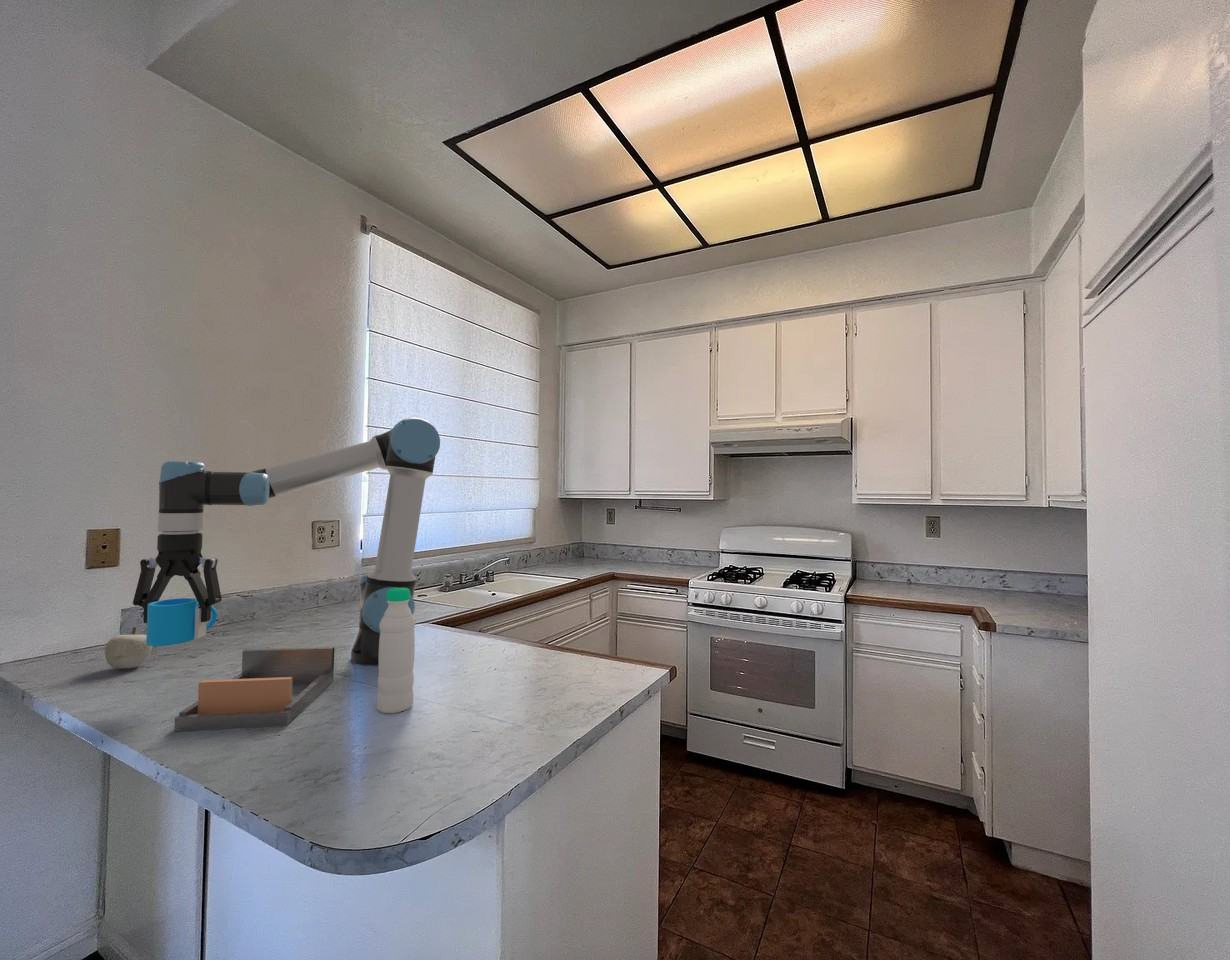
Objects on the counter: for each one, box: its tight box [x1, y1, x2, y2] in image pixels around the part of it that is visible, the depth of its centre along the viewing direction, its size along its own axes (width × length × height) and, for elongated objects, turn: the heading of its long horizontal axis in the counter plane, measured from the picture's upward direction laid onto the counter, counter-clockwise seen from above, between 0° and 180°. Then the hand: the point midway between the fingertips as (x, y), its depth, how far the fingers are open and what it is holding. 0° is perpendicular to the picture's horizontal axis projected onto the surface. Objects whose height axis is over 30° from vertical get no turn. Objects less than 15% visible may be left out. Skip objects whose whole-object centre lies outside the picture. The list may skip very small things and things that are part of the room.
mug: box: [145, 597, 218, 647], centre depth 113 cm, size 12×8×8 cm
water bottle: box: [376, 588, 416, 715], centre depth 110 cm, size 7×7×25 cm
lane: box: [173, 646, 335, 732], centre depth 111 cm, size 19×24×8 cm
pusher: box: [197, 677, 293, 714], centre depth 105 cm, size 16×4×7 cm, turn 100°
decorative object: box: [104, 626, 154, 670], centre depth 131 cm, size 9×9×10 cm
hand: (176, 637), depth 112 cm, fingers closed on mug, 8 cm apart
